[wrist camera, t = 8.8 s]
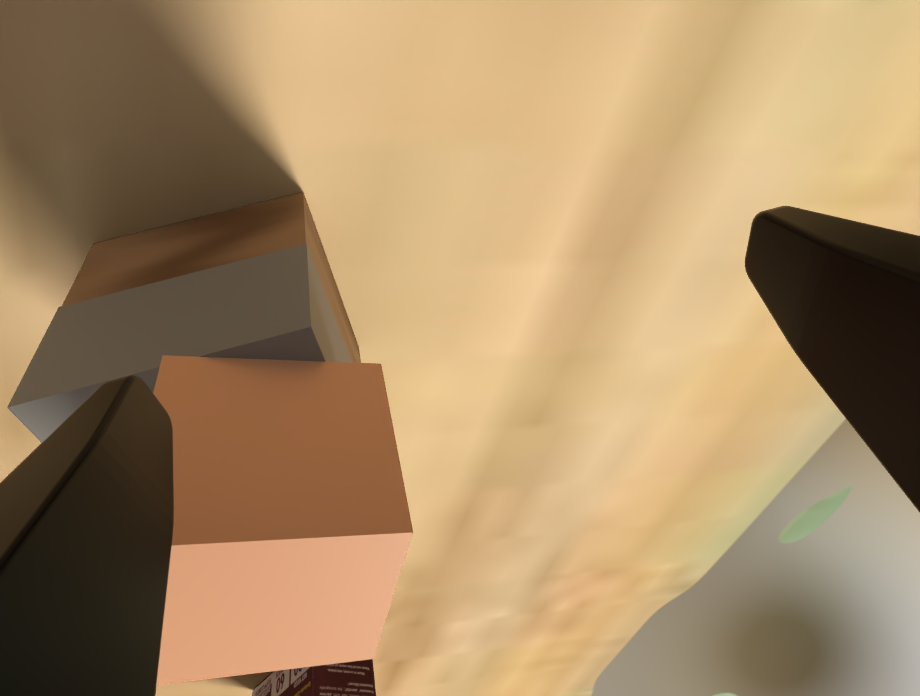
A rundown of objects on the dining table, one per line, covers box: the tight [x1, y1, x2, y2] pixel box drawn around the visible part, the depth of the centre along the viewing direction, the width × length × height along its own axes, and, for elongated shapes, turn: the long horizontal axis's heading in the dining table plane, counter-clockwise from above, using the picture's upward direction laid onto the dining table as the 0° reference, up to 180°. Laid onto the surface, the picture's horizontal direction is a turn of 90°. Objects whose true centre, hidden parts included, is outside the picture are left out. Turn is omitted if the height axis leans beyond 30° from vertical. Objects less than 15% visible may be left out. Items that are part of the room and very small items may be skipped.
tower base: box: [62, 192, 361, 363], centre depth 20 cm, size 7×7×4 cm
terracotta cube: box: [153, 355, 413, 685], centre depth 14 cm, size 5×5×5 cm
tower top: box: [7, 244, 352, 443], centre depth 17 cm, size 7×7×4 cm
